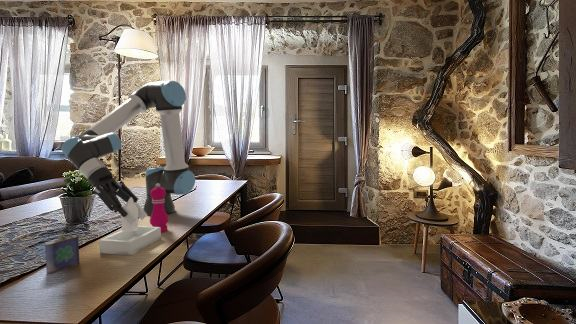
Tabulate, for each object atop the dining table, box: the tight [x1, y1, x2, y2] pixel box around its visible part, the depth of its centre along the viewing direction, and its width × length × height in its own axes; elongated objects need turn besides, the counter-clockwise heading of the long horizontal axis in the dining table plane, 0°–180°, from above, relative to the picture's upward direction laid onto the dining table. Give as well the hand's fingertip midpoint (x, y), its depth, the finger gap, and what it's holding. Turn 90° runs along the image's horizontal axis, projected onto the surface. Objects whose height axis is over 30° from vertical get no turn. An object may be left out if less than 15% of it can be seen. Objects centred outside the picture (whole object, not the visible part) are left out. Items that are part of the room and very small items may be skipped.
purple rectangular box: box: [44, 232, 80, 275], centre depth 103 cm, size 9×3×11 cm, turn 151°
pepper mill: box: [149, 183, 169, 234], centre depth 140 cm, size 7×7×20 cm
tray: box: [99, 225, 162, 256], centre depth 123 cm, size 18×12×4 cm, turn 170°
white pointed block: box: [120, 197, 139, 232], centre depth 122 cm, size 6×12×6 cm
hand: (139, 219), depth 121 cm, fingers closed on white pointed block, 6 cm apart
